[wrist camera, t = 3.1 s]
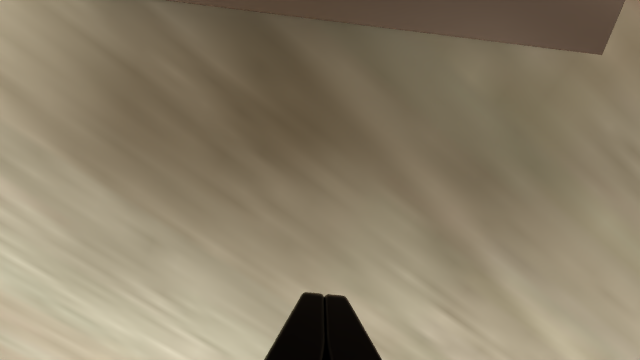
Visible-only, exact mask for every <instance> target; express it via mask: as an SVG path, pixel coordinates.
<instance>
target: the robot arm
mask: <svg viewBox="0 0 640 360" xmlns="http://www.w3.org/2000/svg"><path fill="white" fill-rule="evenodd" d="M264 360H382V359H381V357H380V355H379V354H378V352H377V350H376V348H375V347H374V345H373V343H372V341H371V340H370V338H369V336H368V334H367V333H366V331H365V329H364V327H363V326H362V324H361V322H360V320H359V319H358V317H357V315H356V313H355V312H354V310H353V308H352V306H351V305H350V303H349V301H348V300H347V298H346V297H345V296H340V295H330V294H328V295H326V296H325V297H324V296H323V295H322V294H319V293H308V292H305V293H303V294H302V295H301V297H300V299H299V300H298V302H297V304H296V305H295V307H294V309H293V311H292V312H291V314H290V316H289V318H288V319H287V321H286V323H285V325H284V326H283V328H282V330H281V332H280V333H279V335H278V337H277V338H276V340H275V342H274V344H273V345H272V347H271V349H270V351H269V352H268V354H267V356H266V358H265V359H264Z"/></svg>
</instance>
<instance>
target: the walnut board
mask: <svg viewBox="0 0 640 360" xmlns="http://www.w3.org/2000/svg"><path fill="white" fill-rule="evenodd" d="M168 1H176V2H184V3H192V4H200V5H208V6H216V7H224V8H232V9H240V10H248V11H256V12H264V13H272V14H280V15H288V16H296V17H304V18H312V19H320V20H327V21H335V22H343V23H351V24H359V25H367V26H375V27H383V28H391V29H399V30H407V31H415V32H423V33H431V34H439V35H447V36H455V37H463V38H471V39H479V40H487V41H495V42H503V43H511V44H519V45H527V46H535V47H543V48H551V49H559V50H567V51H575V52H583V53H591V54H599V55H602V54H603V51H604V49H605V47H606V44H607V42H608V39H609V37H610V35H611V32H612V30H613V28H614V25H615V23H616V21H617V18H618V16H619V14H620V11H621V9H622V7H623V4H624V2H625V0H168Z"/></svg>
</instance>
